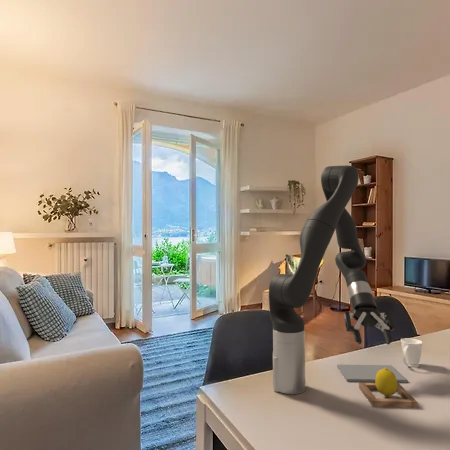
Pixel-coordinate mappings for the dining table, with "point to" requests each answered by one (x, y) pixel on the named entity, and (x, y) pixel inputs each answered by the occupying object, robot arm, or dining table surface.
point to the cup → (411, 351)
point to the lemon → (386, 382)
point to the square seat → (379, 402)
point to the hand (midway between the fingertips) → (374, 343)
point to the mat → (367, 372)
